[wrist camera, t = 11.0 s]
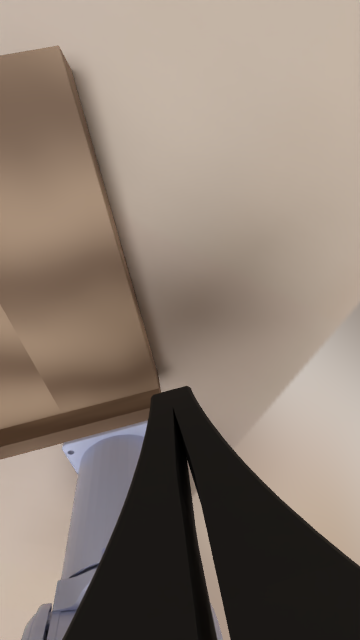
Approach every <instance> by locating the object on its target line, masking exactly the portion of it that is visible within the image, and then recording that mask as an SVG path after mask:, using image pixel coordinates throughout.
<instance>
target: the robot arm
mask: <svg viewBox="0 0 360 640" xmlns="http://www.w3.org/2000/svg"><path fill="white" fill-rule="evenodd" d="M62 450H63V451H64V453H65V455H66V456H67V458H68V459H69V461H70V463H71V464H72V466H73V467H74V469H75V471H76V472H77V474H78V479H77V485H76V491H75V497H74V503H73V509H72V516H71V522H70V528H69V534H68V540H67V546H66V552H65V558H64V564H63V570H62V576H61V580H59V581H58V582H57V587H56V593H55V599H54V605H53V611H52V612H51V610H52V604H51V603H48V604H43V605H41V606H40V607H39V609H38V611H37V613H36V614H35V615H34V616H33V617H32V618H31V619H30V620H29V622H28V623H27V625H26V627H25V630H24V633H23V636H22V639H21V640H223V638H222V634H221V630H220V627H219V623H218V620H217V617H216V614H215V612H214V609H213V607H212V605H211V603H210V601H209V596H208V591H207V586H206V581H205V576H204V571H203V566H202V561H201V556H200V551H199V546H198V540H197V534H196V528H195V520H194V511H193V503H192V496H191V488H190V480H189V472H188V464H187V460H188V463H189V467H190V470H191V473H192V476H193V480H194V483H195V486H196V489H197V492H198V496H199V499H200V502H201V505H202V510H203V514H204V519H205V523H206V527H207V532H208V537H209V541H210V546H211V551H212V555H213V560H214V564H215V569H216V574H217V578H218V583H219V587H220V592H221V597H222V601H223V606H224V611H225V615H226V620H227V624H228V629H229V634H230V638H231V640H360V566H359V565H357V564H356V563H355V562H354V561H352V560H351V559H350V558H349V557H347V556H346V555H345V554H344V553H342V552H341V551H340V550H339V549H338V548H336V547H335V546H334V545H333V544H331V543H330V542H329V541H328V540H327V539H326V538H324V537H323V536H322V535H321V534H319V533H318V532H317V531H316V530H315V529H314V528H313V527H311V526H310V525H309V524H308V523H307V522H306V521H305V520H304V519H303V518H301V517H300V516H299V515H298V514H297V513H296V512H295V511H293V510H292V509H291V508H290V507H289V506H288V505H287V504H286V503H285V502H283V501H282V500H281V499H280V498H279V497H278V496H277V495H276V494H275V493H274V492H273V491H272V490H271V489H270V488H269V487H268V486H267V485H266V484H265V483H264V482H263V481H262V480H261V479H260V478H259V477H258V476H257V475H256V474H255V473H254V472H253V471H252V470H251V469H250V468H249V467H248V466H247V465H246V464H245V463H244V461H243V460H242V459H241V458H240V457H239V456H238V455H237V454H236V452H235V451H234V450H233V449H232V448H231V447H230V445H229V444H228V443H227V442H226V441H225V439H224V438H223V437H222V436H221V434H220V433H219V432H218V430H217V429H216V428H215V427H214V425H213V424H212V423H211V421H210V420H209V418H208V417H207V416H206V414H205V413H204V411H203V410H202V408H201V407H200V405H199V403H198V402H197V400H196V398H195V396H194V394H193V392H192V390H191V388H190V387H188V386H185V387H181V388H177V389H173V390H170V391H166V392H162V393H158V394H154V395H153V396H152V397H151V403H150V411H149V417H148V420H147V421H144V422H140V423H136V424H132V425H128V426H125V427H121V428H117V429H113V430H110V431H106V432H102V433H98V434H95V435H91V436H87V437H83V438H79V439H76V440H72V441H68V442H64V443H63V447H62Z"/></svg>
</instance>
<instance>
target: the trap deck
mask: <svg viewBox="0 0 360 640" xmlns="http://www.w3.org/2000/svg"><path fill="white" fill-rule="evenodd" d="M158 393H161V390H160V383H159V377H158V373H157V369H156V366H155V362H154V359H153V355H152V352H151V348H150V345H149V341H148V338H147V334H146V331H145V327H144V324H143V320H142V317H141V313H140V310H139V306H138V303H137V299H136V296H135V292H134V289H133V285H132V282H131V278H130V275H129V271H128V267H127V264H126V260H125V257H124V253H123V250H122V246H121V243H120V239H119V236H118V232H117V229H116V225H115V222H114V218H113V215H112V211H111V208H110V204H109V201H108V197H107V194H106V190H105V187H104V183H103V180H102V176H101V173H100V169H99V166H98V162H97V159H96V155H95V152H94V148H93V145H92V141H91V138H90V134H89V131H88V127H87V124H86V120H85V117H84V113H83V110H82V106H81V103H80V99H79V96H78V92H77V89H76V85H75V81H74V78H73V74H72V71H71V68H70V66H69V64H68V63H67V61H66V59H65V57H64V55H63V53H62V51H61V49H60V47H59V46H54V47H48V48H42V49H36V50H30V51H25V52H19V53H13V54H7V55H1V56H0V459H4V458H8V457H12V456H15V455H19V454H23V453H27V452H30V451H34V450H38V449H42V448H46V447H49V446H53V445H57V444H61V443H64V442H68V441H72V440H76V439H79V438H83V437H87V436H91V435H95V434H98V433H102V432H106V431H110V430H113V429H117V428H121V427H125V426H128V425H132V424H136V423H140V422H144V421H147V420H148V417H149V411H150V403H151V397H152V396H153V395H154V394H158Z"/></svg>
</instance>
